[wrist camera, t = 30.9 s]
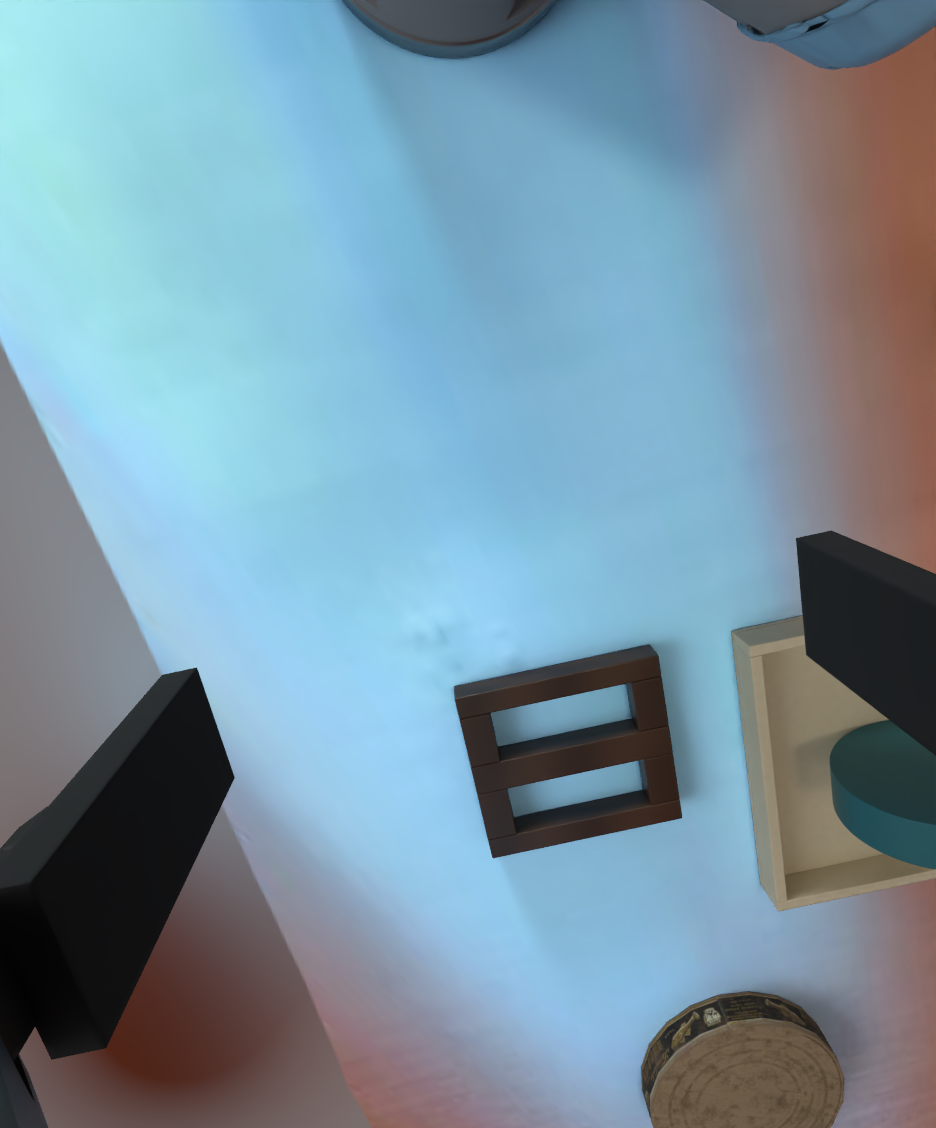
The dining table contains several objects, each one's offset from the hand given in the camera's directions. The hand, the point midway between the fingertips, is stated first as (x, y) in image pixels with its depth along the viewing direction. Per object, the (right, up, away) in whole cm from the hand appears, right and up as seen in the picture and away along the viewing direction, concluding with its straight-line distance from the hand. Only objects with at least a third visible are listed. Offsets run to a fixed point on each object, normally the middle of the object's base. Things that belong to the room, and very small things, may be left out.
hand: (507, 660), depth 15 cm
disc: (+29, -12, +31) cm, 45 cm away
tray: (+28, -11, +37) cm, 48 cm away
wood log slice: (+22, -41, +46) cm, 65 cm away
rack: (+6, -11, +36) cm, 39 cm away
